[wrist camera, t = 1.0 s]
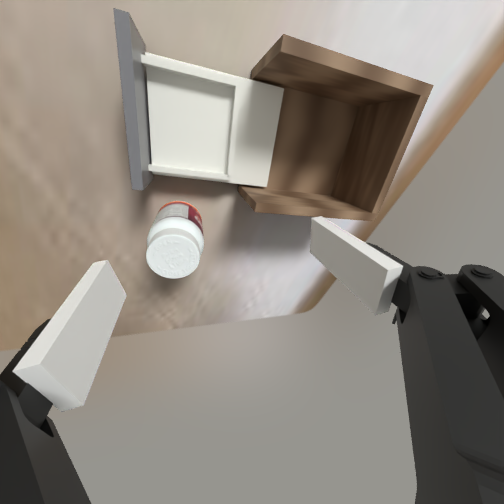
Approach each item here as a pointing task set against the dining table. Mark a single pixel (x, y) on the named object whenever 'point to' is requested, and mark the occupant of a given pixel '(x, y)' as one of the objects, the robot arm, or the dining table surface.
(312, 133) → the wooden box
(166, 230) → the pill bottle
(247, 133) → the tray
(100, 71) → the dining table surface
